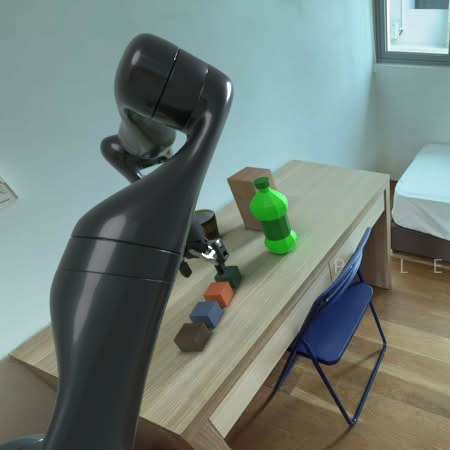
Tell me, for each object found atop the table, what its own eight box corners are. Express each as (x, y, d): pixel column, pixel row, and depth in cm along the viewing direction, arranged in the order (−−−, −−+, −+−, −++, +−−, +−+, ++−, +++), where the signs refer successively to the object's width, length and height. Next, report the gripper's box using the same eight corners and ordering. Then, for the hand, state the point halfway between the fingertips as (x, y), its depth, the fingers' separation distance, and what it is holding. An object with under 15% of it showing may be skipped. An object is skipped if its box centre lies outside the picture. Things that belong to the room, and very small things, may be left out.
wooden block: (245, 228, 111) (225, 178, 99) (263, 214, 119) (246, 165, 107) (269, 232, 108) (251, 181, 97) (285, 217, 116) (270, 168, 105)
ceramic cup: (197, 235, 109) (185, 211, 103) (227, 230, 111) (217, 206, 105) (186, 258, 98) (172, 233, 92) (220, 252, 100) (208, 227, 94)
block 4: (202, 351, 71) (193, 339, 68) (182, 352, 71) (172, 340, 68) (211, 334, 74) (203, 322, 72) (192, 335, 74) (184, 323, 72)
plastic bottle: (276, 238, 105) (253, 171, 91) (305, 240, 104) (286, 173, 89) (260, 257, 97) (233, 187, 83) (291, 260, 96) (269, 189, 81)
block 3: (215, 327, 76) (207, 315, 73) (196, 328, 76) (188, 316, 73) (223, 312, 80) (216, 300, 77) (205, 313, 80) (198, 301, 77)
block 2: (227, 306, 81) (220, 294, 79) (209, 307, 81) (202, 295, 79) (234, 293, 85) (228, 281, 83) (217, 294, 85) (211, 282, 83)
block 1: (236, 288, 87) (230, 276, 84) (220, 289, 87) (213, 277, 84) (242, 277, 90) (237, 265, 88) (227, 277, 90) (221, 266, 88)
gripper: (217, 210, 71) (240, 263, 81) (155, 213, 71) (185, 265, 80) (201, 229, 65) (227, 283, 74) (133, 232, 65) (168, 286, 74)
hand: (205, 274), depth 77 cm, fingers open, 8 cm apart
